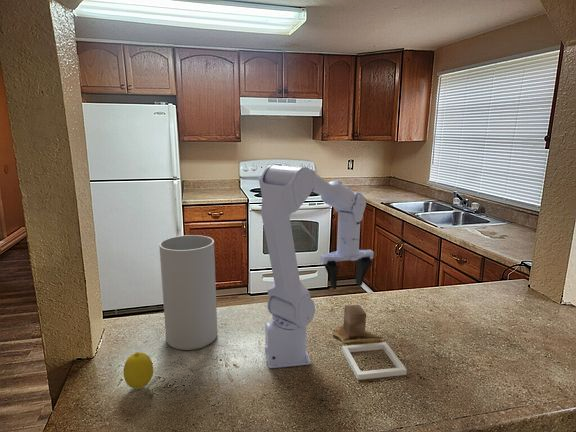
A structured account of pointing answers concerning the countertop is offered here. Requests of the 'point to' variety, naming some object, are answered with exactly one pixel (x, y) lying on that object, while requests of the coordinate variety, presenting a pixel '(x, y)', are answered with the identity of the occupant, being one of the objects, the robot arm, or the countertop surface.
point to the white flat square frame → (373, 373)
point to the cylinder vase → (189, 291)
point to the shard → (345, 338)
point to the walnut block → (354, 320)
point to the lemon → (138, 370)
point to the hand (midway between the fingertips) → (346, 285)
